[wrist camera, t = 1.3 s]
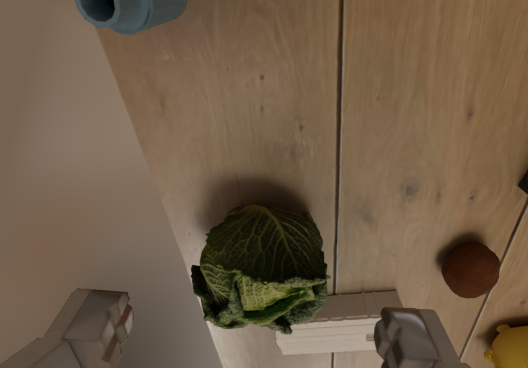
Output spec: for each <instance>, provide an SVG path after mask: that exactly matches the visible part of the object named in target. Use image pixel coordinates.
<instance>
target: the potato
mask: <svg viewBox="0 0 528 368" xmlns="http://www.w3.org/2000/svg"><path fill="white" fill-rule="evenodd" d="M499 269H500V261H499V259H498V257H497V256H496V254H495V253H494V252H492V251H491V250H490V249H489V248H488V247H487V246H485V245H482V244H479V243H469V244H466V245H463V246H462V247H460V248H458V249H457V250H455V251H454V252H453V253H452V254H451V255H450V256H449V257H448V259H447V260H446V261H445V263H444V265H443V266H442V275H443V278H444V280H445V282H446V284H447V285H448V286H449V288H450V289H451V290H452V291H453V292H454V293H455V294H457V295H458V296H460V297H464V298H476V297H478V296H481V295H483V294H485V293H487V292H489V291H490V290H491V289H492V288H493V287H494V285H495V284H496V283H497V281H498V278H499Z"/></svg>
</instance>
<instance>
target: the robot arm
mask: <svg viewBox="0 0 528 368" xmlns="http://www.w3.org/2000/svg"><path fill="white" fill-rule="evenodd" d="M129 299H130V298H129V296H128V293H127V292H120V291H107V290H95V289H80V288H79V289H76V290H75V291H74V292H73V293H72V294H71V295H70V297H69V299H68V300H67V301H66V303H65V305H64V306H63V308H62V309H61V311H60V312H59V314H58V315H57V317H56V318H55V320H54V322H53V323H52V325H51V326H50V328H49V329H48V331H47V332H46V334H45V335H44V337H43V338H37V339H35V340H34V341H33V342H31V343H30V344H28V345H27V346H25V347H24V348H23V349H21V350H20V351H18V352H17V353H16V354H14V355H13V356H11V357H10V358H8V359H7V360H6V361H4V362H3V363H1V364H0V368H116V366H117V363H118V361H119V359H120V356H121V354H122V349H121V346H120V344H121V343H122V342H124V341H125V340H126V339H127V338H128V337H129V334H130V331H131V329H132V324H133V319H134V313H133V309H132V307H131V306H130V305H128V301H129ZM380 315H381V318H382V319H381V320H379V321H377V322H376V325H375V328H374V342H375V347H376V351H377V353H378V354H379V355H380V356H381V357H382V358H383V360H384V361H383V363H382V366H381V368H471V367H470V366H469V365H467V364H466V363H461V362H460V360H459V358H458V356H457V354H456V352H455V350H454V348H453V346H452V344H451V342H450V340H449V338H448V336H447V334H446V332H445V329H444V327H443V325H442V323H441V321H440V319H439V317H438V315H437V313H436V312H435V311H434V310H430V309H415V308H398V307H384V308H383V309H382V311H381V313H380Z"/></svg>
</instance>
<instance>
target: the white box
mask: <svg viewBox="0 0 528 368" xmlns="http://www.w3.org/2000/svg"><path fill="white" fill-rule="evenodd" d="M384 307H398V308H403V306H402V303H401V300H400V298H399V295H398V293H397V290H395V291H385V292H375V291H372V293H364V292H361V293H359V294H346V295H341V294H338V295H333V296H327V299H326V302H325V304H324V307H323V309H321V310H320V311H318V312H317V313H316V315H315V316H314V319H313V320H311V321H309V322H308V323H307V324H299V325H297V324H294V325H291V326H290V327H291V329H292V331H293V332H292V334H286V335H285V334H281V332H280V331H277V330H274V332H275V331H276V338H275V339H276V340H277V345H278V348H281V350H282V353H283V355H293V354H311V353H328V352H345V351H362V350H376V347H375V342H374V337H366V336H368V335H374V328H375V325H376V322H377V321H379V320H381V319H382V318H381V315H380V313H381V311H382V309H383V308H384ZM308 309H309V311H310V312H314V310H313V309H311V308H308ZM307 312H308V311H307ZM366 339H373V340H366Z"/></svg>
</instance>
